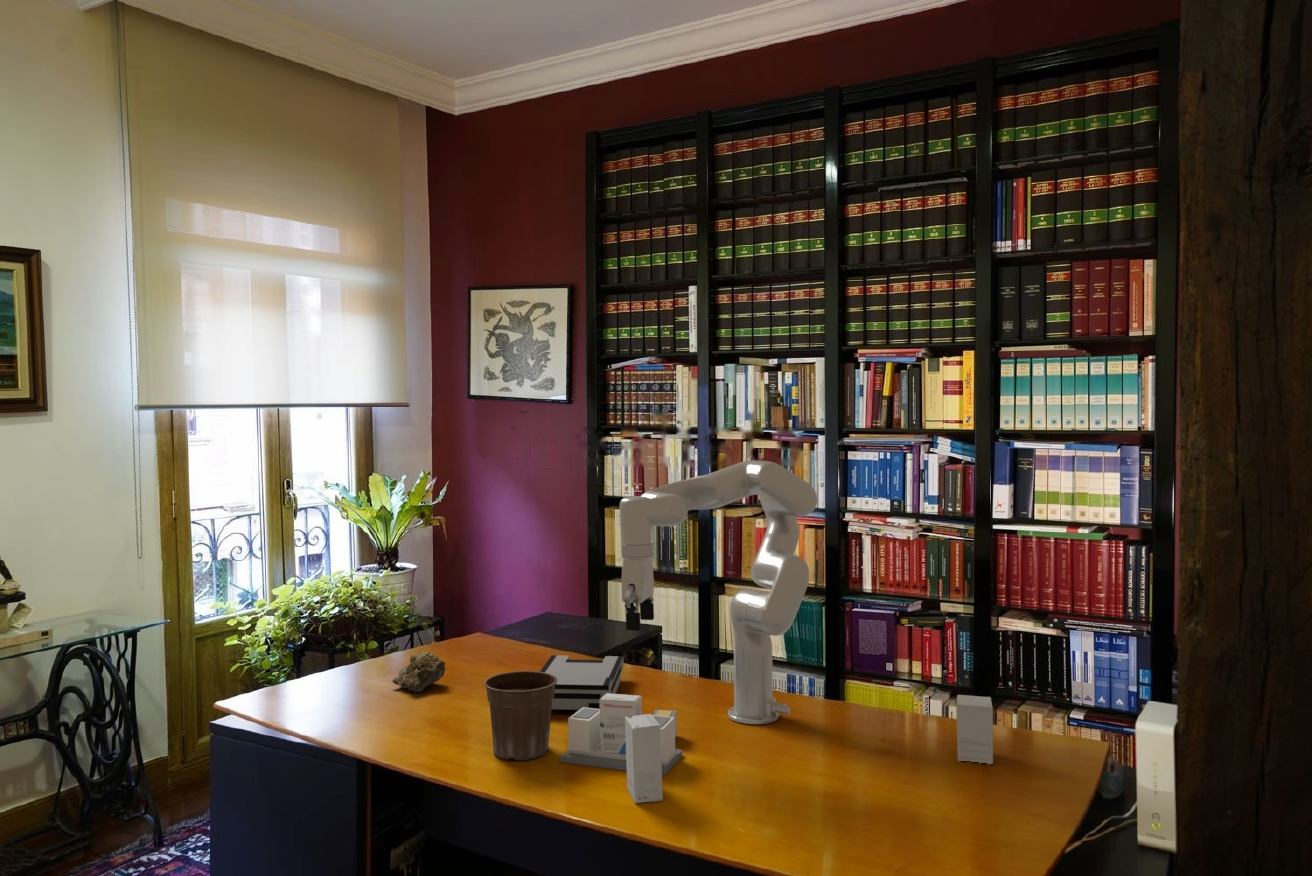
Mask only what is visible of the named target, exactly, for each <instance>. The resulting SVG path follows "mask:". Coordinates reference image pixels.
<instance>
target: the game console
mask: <svg viewBox="0 0 1312 876" xmlns="http://www.w3.org/2000/svg"><path fill="white" fill-rule="evenodd" d="M570 657H571V656H570V655H562V654H561V655H560V654H559V655H556V654H555V655H554V654H553V655H552V654H551V655H550V657H549V658H548V660H547V661H546V662H545V664H544V665H543V666H542V668H541V669H540V670H539V672H544V673H549V674H552V675H554V676H556V677H557V679H558V680H557V683H556V685H555V691H554V698H553V700H552V709H551V712H556V713H557V711H558V710H568V711H570V710H573V711H574V710H575V711H576V710H577V711H579V710H580V709H581V708H583V707H586V708H595V709H600V704H599V700H600V699H601V698H602V697H603V696H604V695H605V694H606V693H610V694H617V691H618V689H619V687H620V684H621V677H622V676H621V674H622V672H623V669H624V656H622V655H621V656H618V655H615V656H612V655H608V656H607V655H605V657H604V658H603V659H570Z"/></svg>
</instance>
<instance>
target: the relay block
mask: <svg viewBox="0 0 1312 876" xmlns="http://www.w3.org/2000/svg"><path fill="white" fill-rule="evenodd" d="M653 715H658V716H668V717H675V738H677V736H678V735H677V734H678V733H677V730H678V725H677V723H678V721H677V716H678V715H677V710H673V709H671V710H670V709H655V710H654V712H653V714H652V716H653Z"/></svg>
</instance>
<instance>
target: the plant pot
mask: <svg viewBox="0 0 1312 876" xmlns="http://www.w3.org/2000/svg"><path fill="white" fill-rule="evenodd" d="M557 680H558V679H557V677H556V676H554V675H552V674H549V673H544V672H540V671H535V670H534V671H533V670H520V671H519V670H517V671H515V670H514V671H509V672H507V671H506V672H503V673H502V672H501V673H497V674H494V675H491V676H490V677H488V678H486V679H485V680H484V682H483V685H484V687H485V688H486V697H487V702H488V703H489V713H490V722H491V725H490V726H491V736H492V743H493V744H492V745H493V754H494V756H496V757H498V758H500V759H502V760H510V759H513V760H515V761H526V760H527V761H529V760H534V759H538V758H540V757H542V756H544V755H545V754H546V752H548V751H549V744H550V731H551V717H552V713H551V709H552V700H553V698H554V691H555V685H556V683H557Z"/></svg>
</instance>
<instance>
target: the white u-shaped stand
mask: <svg viewBox="0 0 1312 876" xmlns="http://www.w3.org/2000/svg"><path fill="white" fill-rule="evenodd" d="M652 715H653V714H652ZM653 717H654V718H655V719H656V721H657V722H658V723H659V725H660V743H661V765H662V777H663V776H664V777H665V776H666V775H667V774H668V772H670V770H671V769H672V768H673V767H674V766H675V765H676V763H677V762H678V761H679V760H680V759H681V757H682V756H683V749H677V748H676V739H675V717H668V716H658V715H653ZM567 727H568V729H567V730H568V731H567V732H568V733H567V734H568V735H567V737H568V738H567V739H568V743H567V744H568V746H567V747H568V748H567V749H566V751H565V752H564V753H563V754H561V755H560V756H559V757H560V758H559V759H560V760H559V761H560V763H566V764H574V765H581V766H587V767H588V766H589V767H594V768H595V767H597V768H604V769H611V770H619V771H624V772H625V771H626V772H627V763H626V754H622V753H609V752H601V744H600V709H595V708H586V707H583V708H581V709H580V710H577V711H575V713H574V714H571V716H569V717H568V718H567Z"/></svg>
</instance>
